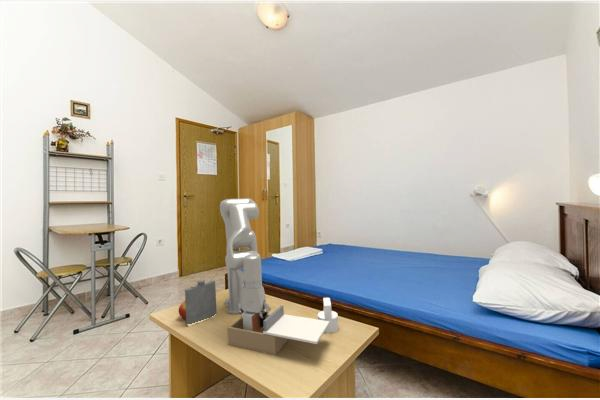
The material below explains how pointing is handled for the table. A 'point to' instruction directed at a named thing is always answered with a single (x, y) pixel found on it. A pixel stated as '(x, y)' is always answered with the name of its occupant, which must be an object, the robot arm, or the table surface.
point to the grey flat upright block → (200, 301)
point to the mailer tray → (254, 339)
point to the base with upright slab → (329, 316)
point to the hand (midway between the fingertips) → (254, 324)
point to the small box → (252, 322)
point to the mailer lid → (294, 327)
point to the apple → (182, 310)
